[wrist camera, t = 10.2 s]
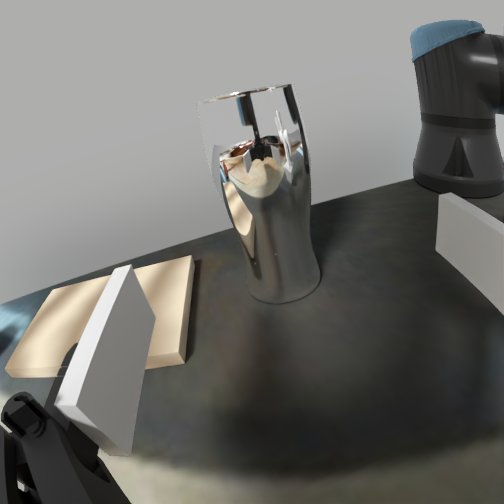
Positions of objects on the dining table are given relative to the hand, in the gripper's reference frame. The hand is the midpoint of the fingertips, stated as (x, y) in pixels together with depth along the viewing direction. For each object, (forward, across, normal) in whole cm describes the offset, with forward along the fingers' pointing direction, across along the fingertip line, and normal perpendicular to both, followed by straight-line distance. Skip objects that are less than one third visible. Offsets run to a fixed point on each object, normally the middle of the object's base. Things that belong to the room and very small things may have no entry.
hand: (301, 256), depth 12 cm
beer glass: (+11, 0, +9) cm, 14 cm away
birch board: (+10, +17, +8) cm, 22 cm away
